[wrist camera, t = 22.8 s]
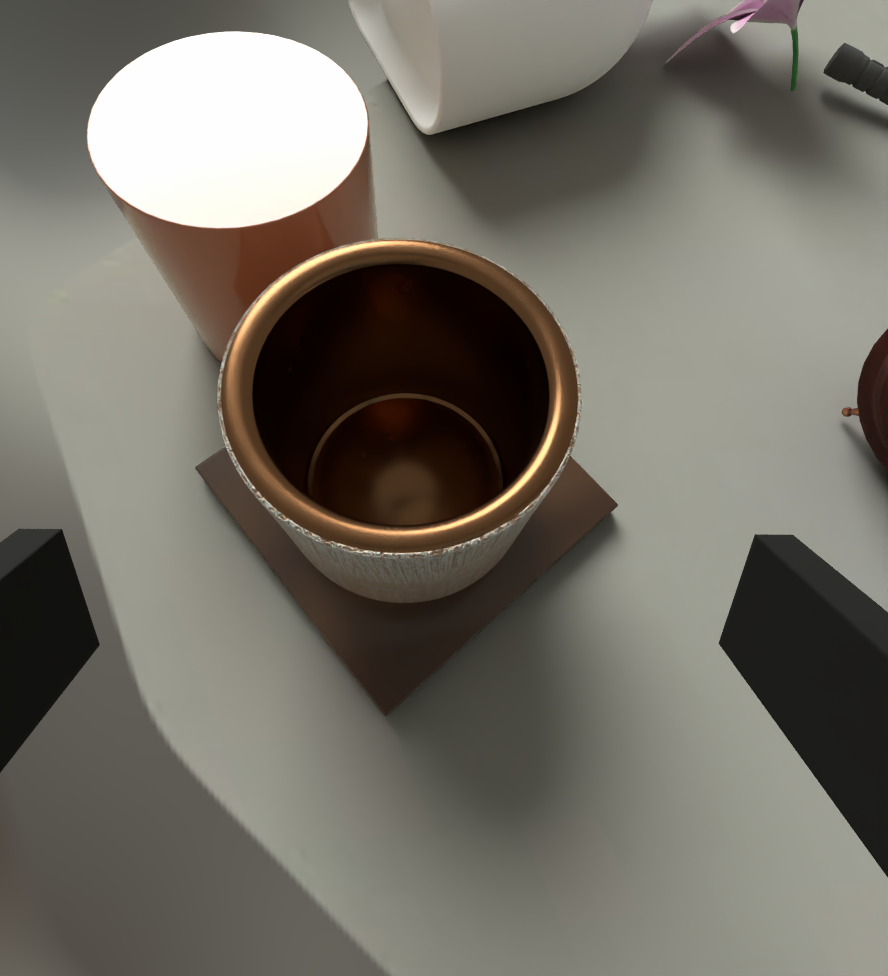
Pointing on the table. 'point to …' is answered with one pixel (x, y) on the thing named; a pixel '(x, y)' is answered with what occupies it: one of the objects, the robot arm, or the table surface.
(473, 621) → the brown wooden square plate
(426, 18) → the bottle
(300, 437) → the planter
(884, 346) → the alarm clock
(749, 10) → the lily
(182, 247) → the copper solid cylinder
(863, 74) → the knife
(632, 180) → the table surface
